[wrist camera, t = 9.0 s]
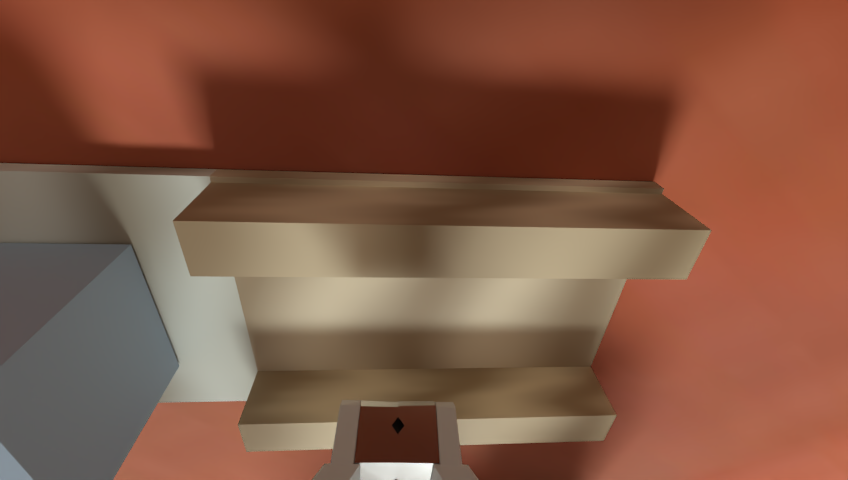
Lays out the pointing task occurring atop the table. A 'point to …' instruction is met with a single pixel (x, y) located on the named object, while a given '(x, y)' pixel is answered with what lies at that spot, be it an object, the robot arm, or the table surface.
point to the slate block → (76, 359)
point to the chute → (372, 286)
